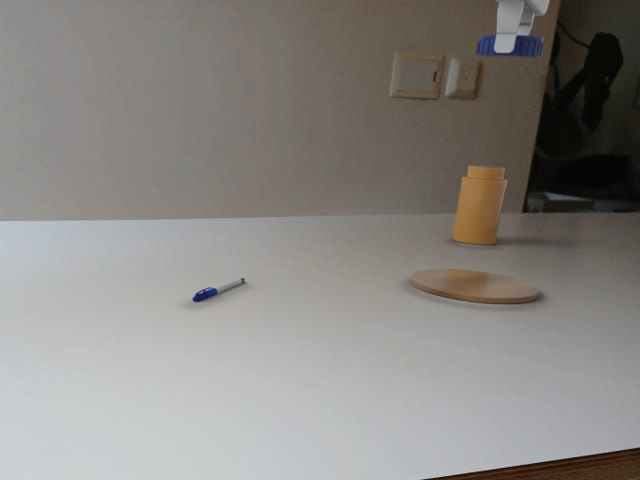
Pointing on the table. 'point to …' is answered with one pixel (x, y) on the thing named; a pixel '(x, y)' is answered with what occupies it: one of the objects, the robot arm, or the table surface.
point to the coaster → (475, 286)
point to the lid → (523, 49)
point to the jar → (480, 205)
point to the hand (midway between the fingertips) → (508, 55)
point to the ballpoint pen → (216, 290)
